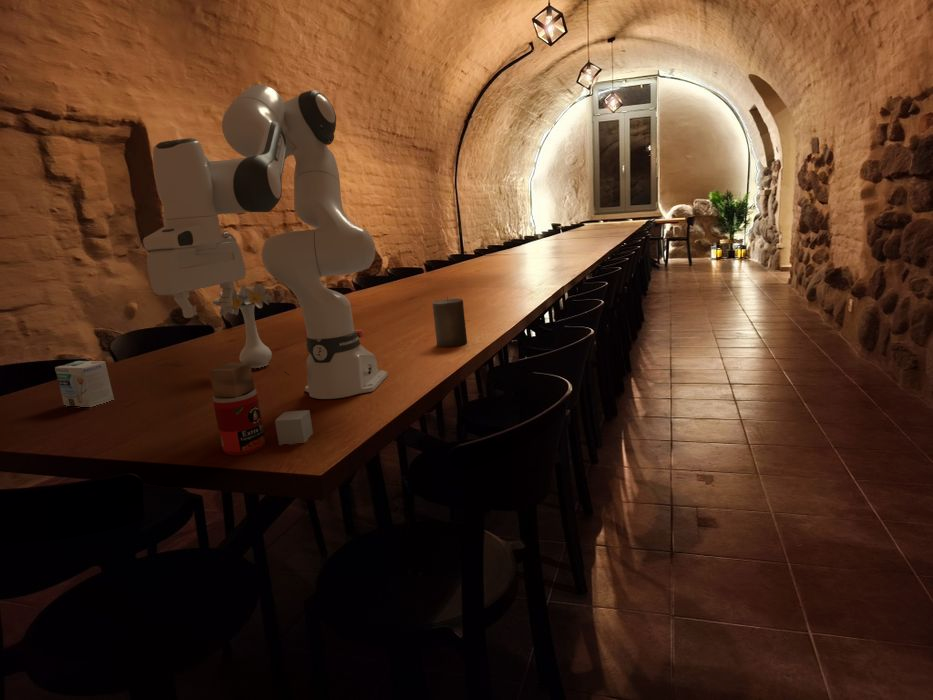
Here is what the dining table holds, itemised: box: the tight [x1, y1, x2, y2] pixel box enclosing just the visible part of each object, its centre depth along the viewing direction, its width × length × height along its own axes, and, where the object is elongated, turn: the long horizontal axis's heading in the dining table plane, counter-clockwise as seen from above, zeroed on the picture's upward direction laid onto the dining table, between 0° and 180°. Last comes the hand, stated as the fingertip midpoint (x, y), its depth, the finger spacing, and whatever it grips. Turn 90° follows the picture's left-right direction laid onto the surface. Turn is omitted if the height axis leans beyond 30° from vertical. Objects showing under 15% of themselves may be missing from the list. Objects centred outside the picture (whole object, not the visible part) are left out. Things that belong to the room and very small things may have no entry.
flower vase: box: [212, 283, 273, 369], centre depth 173 cm, size 13×18×25 cm
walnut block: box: [208, 362, 256, 397], centre depth 107 cm, size 5×5×5 cm
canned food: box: [212, 388, 266, 457], centre depth 109 cm, size 8×8×11 cm
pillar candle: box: [432, 296, 468, 348], centre depth 182 cm, size 10×10×15 cm
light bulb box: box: [54, 360, 115, 408], centre depth 151 cm, size 11×7×11 cm, turn 68°
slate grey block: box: [274, 409, 314, 446], centre depth 112 cm, size 5×5×5 cm
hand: (209, 311), depth 106 cm, fingers open, 8 cm apart
